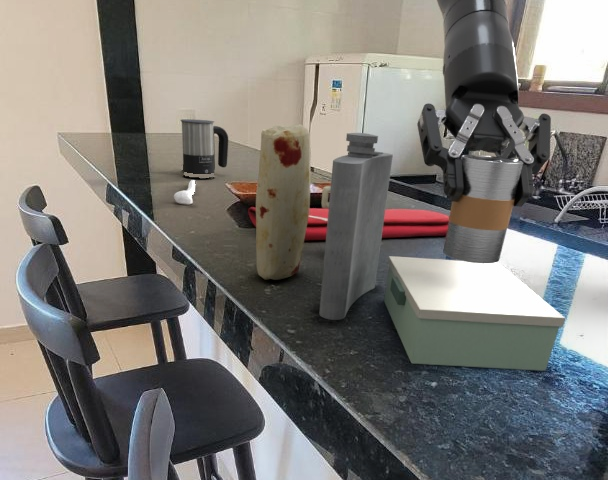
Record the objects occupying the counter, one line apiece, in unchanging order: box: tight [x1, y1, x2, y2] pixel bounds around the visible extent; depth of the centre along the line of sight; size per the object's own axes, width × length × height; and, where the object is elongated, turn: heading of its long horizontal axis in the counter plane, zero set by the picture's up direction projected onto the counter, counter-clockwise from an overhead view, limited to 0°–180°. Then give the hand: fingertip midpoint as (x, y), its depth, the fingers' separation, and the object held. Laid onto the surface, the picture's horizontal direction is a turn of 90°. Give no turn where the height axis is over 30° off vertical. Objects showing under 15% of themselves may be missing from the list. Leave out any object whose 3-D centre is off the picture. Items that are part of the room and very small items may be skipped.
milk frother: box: [180, 118, 229, 180], centre depth 151 cm, size 14×16×15 cm
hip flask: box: [318, 132, 394, 321], centre depth 65 cm, size 16×4×20 cm, turn 157°
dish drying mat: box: [247, 206, 450, 242], centre depth 104 cm, size 16×41×4 cm, turn 113°
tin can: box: [442, 154, 523, 264], centre depth 56 cm, size 6×6×10 cm
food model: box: [255, 123, 312, 281], centre depth 72 cm, size 10×7×20 cm
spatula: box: [173, 179, 197, 206], centre depth 126 cm, size 28×4×3 cm, turn 8°
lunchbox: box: [383, 255, 566, 372], centre depth 61 cm, size 16×18×6 cm
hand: (489, 199), depth 54 cm, fingers closed on tin can, 6 cm apart
